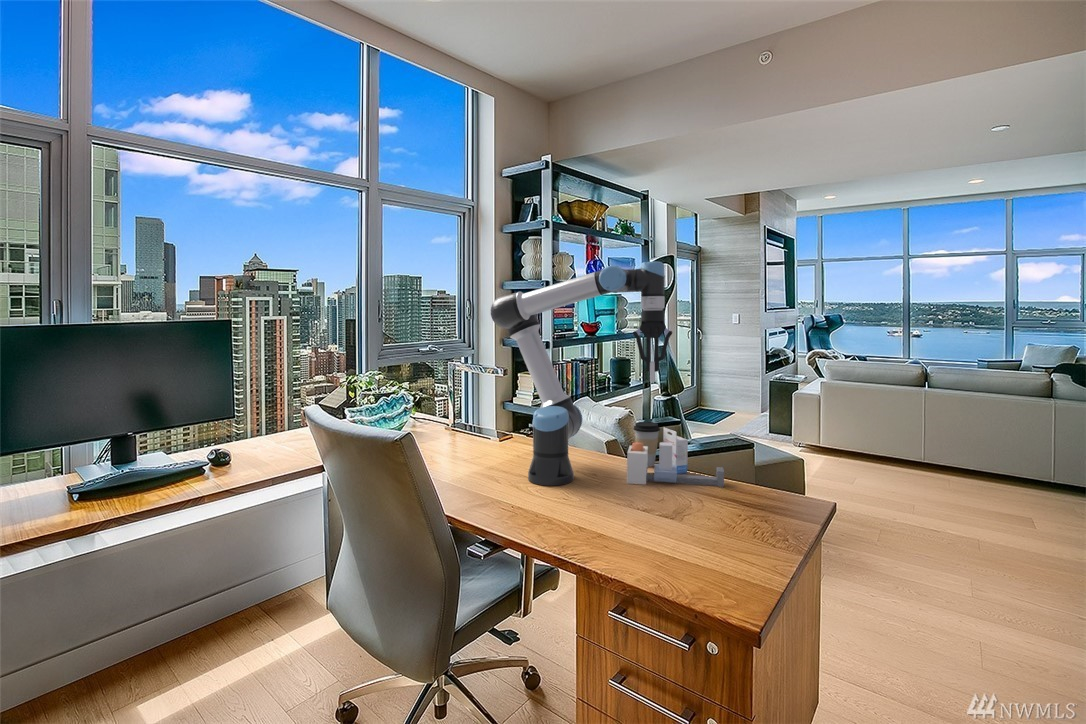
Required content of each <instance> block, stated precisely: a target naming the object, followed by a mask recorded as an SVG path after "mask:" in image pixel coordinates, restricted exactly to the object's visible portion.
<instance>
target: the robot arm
mask: <svg viewBox="0 0 1086 724" xmlns="http://www.w3.org/2000/svg"><path fill="white" fill-rule="evenodd" d="M665 278H666V275H665V264H664V263H663V262H662V261H644V262H642V263H641V264H640V268H635V269H633V268H630V269H629V268H628V269H626V268H621V267H620V266H618V265H608V266H605V267H604V268H603V269H600V270H597V271H594V272H591V273H587V274H583V275H580V276H578V277H574V278H571V279H568V280H564V281H560V282H557V283H554V284H550V285H548V286H545V287H541V288H537V289H534V290H531V291H528V292H522V291H517V292H513V293H509V294H504V295H503V294H502V295H501V296H498V297H497V298H495V300H494V301H493V302H492V304H491V305H490V317H491V319H492V321H493V323H494V324H496V326H497V327H499V328H501V329H506V331H507V333H508V336H509V338H510V339H512V340H514V341H516V345H518V346H517V347H518V348H519V351H520V354H521V356H522V358H523V361H524V364H525V365H526V369H527V370H528V372H529V375H530V378H531V379H532V383H533V385H534V387H535V389H536V392H537V395H538V397H539V399H540V401H541V404H540V406H539V408H538V409H536V410H535V411H534V412H533V415H532V418H533V419H532V422H531V423H532V443H533V444H532V453H533V454H532V459H531V462H530V464H529V468H528V471H527V479H528V481H529V482H530V483H532V484H535V485H540V486H549V487H550V486H552V487H553V486H554V487H555V486H562V485H566V484H570V483H572V482H573V481H574V477H575V476H574V474H575V473H574V469H573V467H572V463H571V460H570V457H569V439H570V438H572V437H574V436H576V435H577V433H578V432H579V431H580V429H581V428H582V424H583V415H582V412H581V410H580V408H579V407H578V406H577V405H575V404H574V402H573V400H572V398H571V396H570V395H568V394H566V393H565V392H564V390H563V388H562V384H561V383H560V380H559V378H558V375H557V373H556V371H555V368H554V366H553V363H552V361H551V359H550V356H549V354H548V351H547V349H546V347H545V345H544V342H543V339H542V337H541V335H540V333H539V330H540V327H541V324H540V322H539V319H538V316H539V314H541V313H544V312H547V311H551V310H555V309H558V308H561V307H565V306H568V305H572V304H575V303H579V302H582V301H585V300H588V299H593V298H596V297H599V296H602V295H604V296H605V295H607V294H610V293H611V294H612V293H613V294H617V293H633V292H636V293H640V309H642V310H641V311H640V325H639V328H637V329H636V330H634V331H633V332H632V335H633V336H634V338H635V340H636V344H637V348H638V352H639V355H640V356H639V357H640V359H641V360H642V361H643V362H646V365H645V366H646V372H649V382H650V383H655V382H656V372H659V362H660V361H664V359H665V355H666V352H667V348H668V344H669V340H670V337H671V336H672V334H673V331H672V330H669V329H668V328H667V326H666V324H665V311H664V309H665V304H666V303H665V299H666V298H665V291H666V290H665V287H666V286H665V284H666V283H665V282H666V280H665ZM641 333H642V334H643V336H644V337H645V338H646V342H645V343H646V344H645V346H646V352H645V351H644V348H643V344H642V339H641V336H642V335H641ZM663 333H664V336H665V337H664V341H663V345H662V349H661V352H659V351H660V350H659V343H660V337H661V336H662V335H663ZM652 339H654V340H653V341H654V342H653V343H654V347H653V349H654V350H653V351H654V353H653V354H654V358H653V359H654V360H653V361H652V359H651V354H652V353H651V351H652V350H651V347H652V346H651V341H652ZM645 353H646V356H645ZM659 353H661V354H660V355H659Z"/></svg>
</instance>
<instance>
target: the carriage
mask: <svg viewBox="0 0 1086 724" xmlns="http://www.w3.org/2000/svg"><path fill="white" fill-rule="evenodd" d="M658 449H659V450H658V451H659V452H658V453H659V455H658V459H659V461H658V463H655V465H654V470H653V473H654V481H664V482H663V483H666V482H676V479H677V475H678V474H677V465H672V443H663V441H662V442H659V448H658Z"/></svg>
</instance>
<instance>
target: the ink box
mask: <svg viewBox="0 0 1086 724" xmlns="http://www.w3.org/2000/svg"><path fill="white" fill-rule="evenodd" d="M662 432H663V434H662V435H663V436H662V442H663V443H672V465H677V475H682V474H687V473H688V453H689V451H688V448H689V447H688V443H689V440H688V438H687V439H686V438H683V437H681V436H678V435H677V434H678V433H677V431H675V430H672V429H670V428H667V427H665V426H663V431H662Z"/></svg>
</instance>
